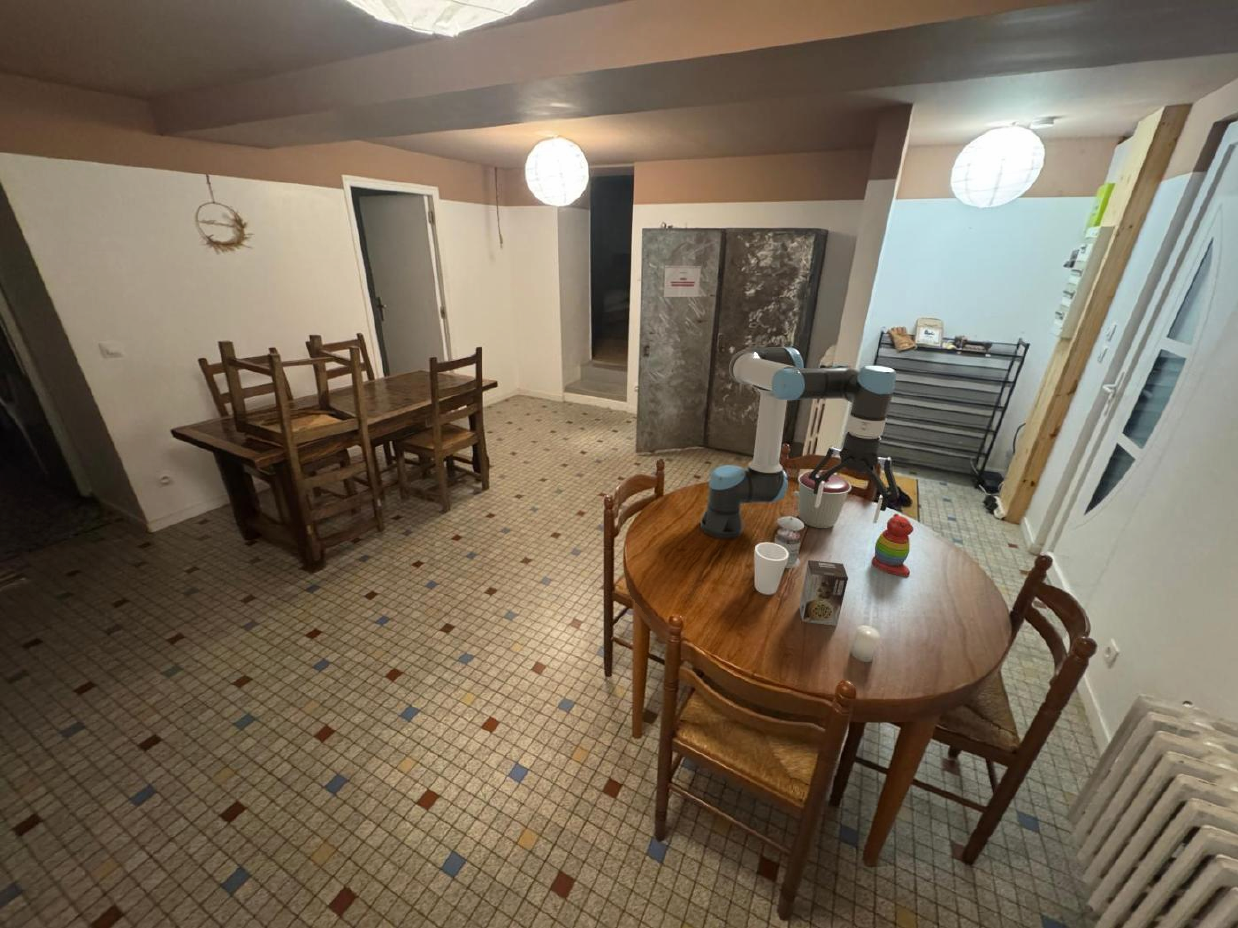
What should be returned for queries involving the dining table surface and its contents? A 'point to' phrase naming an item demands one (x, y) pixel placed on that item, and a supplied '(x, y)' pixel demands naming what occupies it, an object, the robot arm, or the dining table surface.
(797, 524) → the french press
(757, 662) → the dining table surface
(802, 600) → the coffee box
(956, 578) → the dining table surface
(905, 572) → the stacking bear
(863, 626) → the white cylinder
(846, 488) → the canister
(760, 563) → the foam cup
